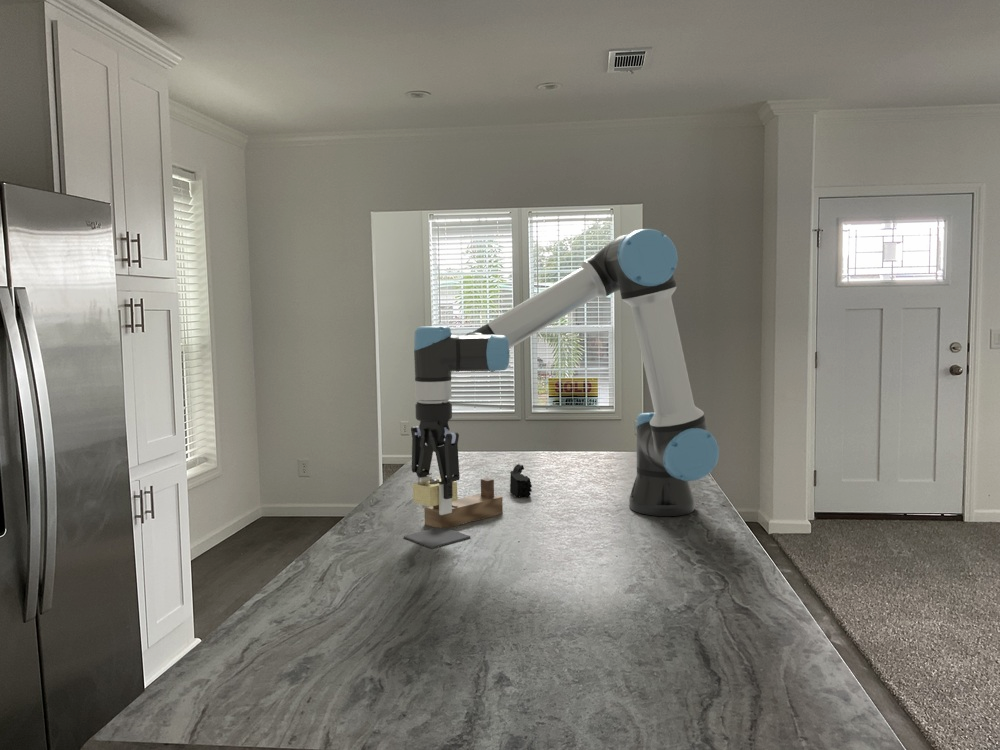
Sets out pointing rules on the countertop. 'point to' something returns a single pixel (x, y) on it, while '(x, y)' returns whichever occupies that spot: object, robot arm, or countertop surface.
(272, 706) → the countertop surface
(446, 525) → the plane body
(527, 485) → the toy
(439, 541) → the mat
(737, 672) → the countertop surface
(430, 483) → the yellow block with knob
